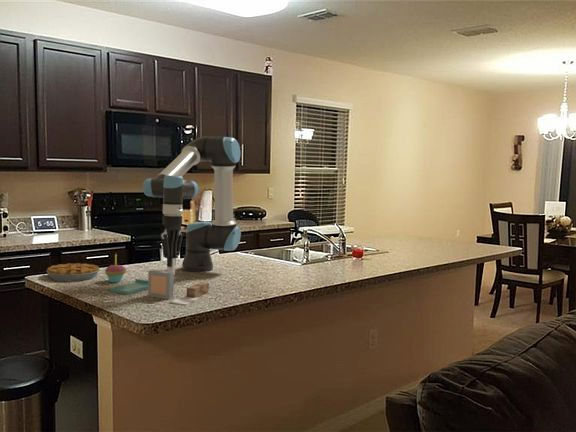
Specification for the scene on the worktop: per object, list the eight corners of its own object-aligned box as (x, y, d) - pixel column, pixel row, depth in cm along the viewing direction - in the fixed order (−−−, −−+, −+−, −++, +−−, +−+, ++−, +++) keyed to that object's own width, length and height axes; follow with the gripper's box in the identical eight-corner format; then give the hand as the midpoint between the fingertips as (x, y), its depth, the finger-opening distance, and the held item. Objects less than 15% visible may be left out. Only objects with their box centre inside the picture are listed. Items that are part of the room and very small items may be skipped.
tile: (152, 294, 207) (152, 269, 206) (173, 298, 203) (173, 272, 202) (147, 296, 204) (148, 270, 203) (168, 299, 200) (169, 273, 199)
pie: (95, 270, 247) (95, 260, 246) (103, 280, 228) (103, 269, 227) (44, 273, 236) (44, 262, 236) (47, 283, 217) (47, 271, 217)
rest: (136, 283, 223) (136, 278, 223) (154, 286, 219) (154, 281, 219) (109, 291, 208) (109, 285, 208) (127, 294, 205) (127, 288, 205)
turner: (196, 291, 216) (197, 281, 215) (212, 293, 213) (212, 283, 213) (169, 303, 195) (170, 292, 195) (186, 305, 193) (187, 295, 193)
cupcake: (104, 279, 229) (105, 252, 228) (125, 278, 232) (125, 251, 231) (105, 283, 221) (105, 255, 220) (126, 283, 224) (127, 255, 223)
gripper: (170, 216, 199) (168, 278, 201) (190, 214, 211) (188, 273, 213) (154, 215, 202) (152, 276, 204) (174, 213, 214) (173, 270, 216)
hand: (171, 274), depth 209 cm, fingers closed
